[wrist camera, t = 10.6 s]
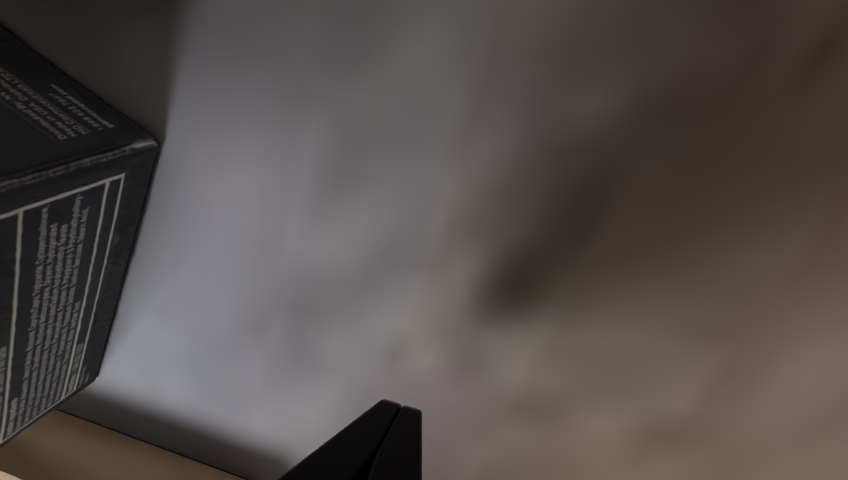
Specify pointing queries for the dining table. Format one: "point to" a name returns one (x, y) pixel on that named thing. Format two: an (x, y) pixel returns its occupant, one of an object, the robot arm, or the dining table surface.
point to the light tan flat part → (92, 455)
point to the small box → (60, 231)
